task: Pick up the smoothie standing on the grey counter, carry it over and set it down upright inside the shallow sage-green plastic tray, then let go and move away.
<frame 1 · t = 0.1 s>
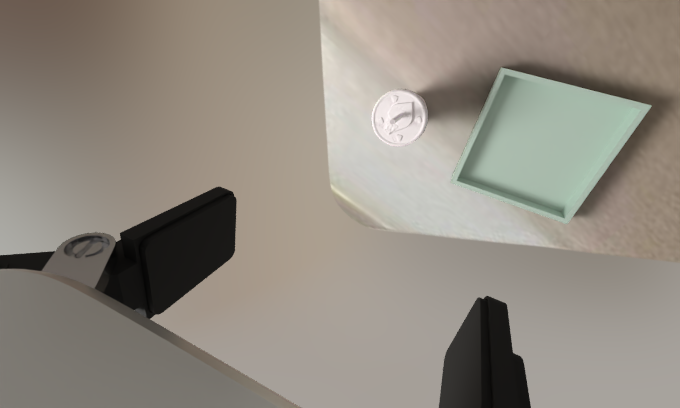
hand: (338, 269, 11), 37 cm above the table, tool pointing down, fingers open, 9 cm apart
tray: (533, 145, 39), on the table
smoothie: (413, 108, 43), on the table
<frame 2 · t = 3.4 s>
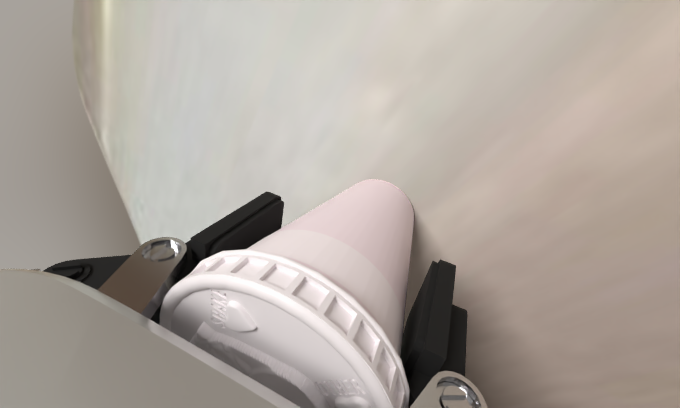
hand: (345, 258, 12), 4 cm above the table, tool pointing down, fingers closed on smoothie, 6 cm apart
smoothie: (377, 212, 15), on the table, touching gripper
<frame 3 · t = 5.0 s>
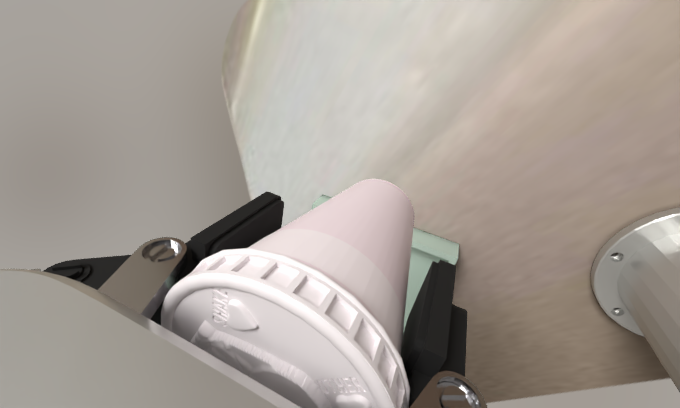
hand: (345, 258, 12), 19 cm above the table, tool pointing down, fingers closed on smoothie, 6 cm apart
tray: (370, 271, 36), on the table
smoothie: (377, 212, 15), point 15 cm above the table, touching gripper
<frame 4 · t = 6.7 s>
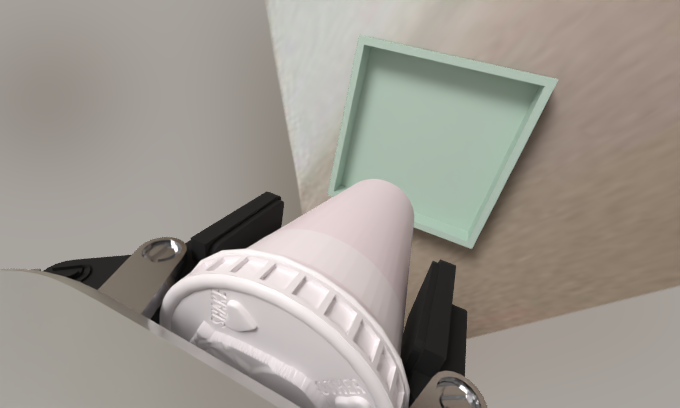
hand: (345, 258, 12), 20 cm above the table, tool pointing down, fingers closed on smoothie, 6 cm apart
tray: (423, 142, 29), on the table
smoothie: (377, 212, 15), point 16 cm above the table, touching gripper
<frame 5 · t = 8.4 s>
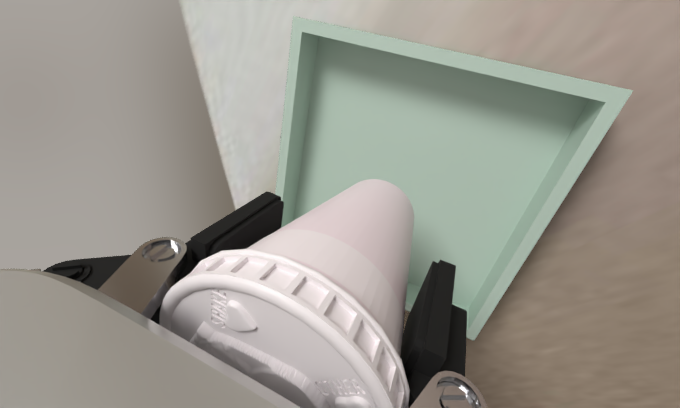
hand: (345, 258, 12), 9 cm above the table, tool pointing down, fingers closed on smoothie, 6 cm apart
tray: (402, 179, 19), on the table
smoothie: (377, 212, 15), point 5 cm above the table, touching gripper
when the fingers open (6 cm above the table, at t = 10.1 s): smoothie stays where it is, resting on tray.
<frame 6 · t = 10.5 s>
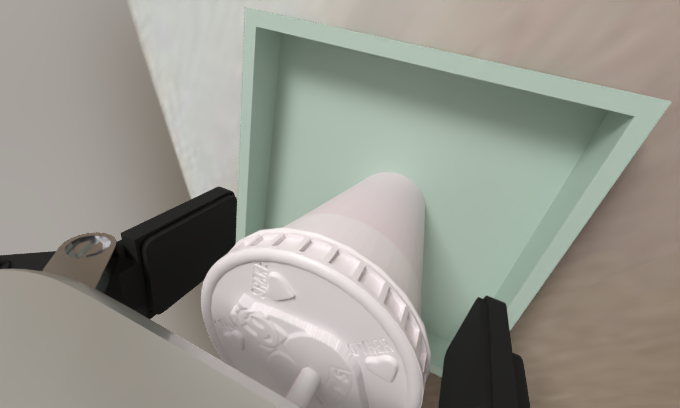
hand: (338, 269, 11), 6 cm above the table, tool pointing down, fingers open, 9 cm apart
tray: (384, 201, 17), on the table
smoothie: (389, 204, 16), resting on tray
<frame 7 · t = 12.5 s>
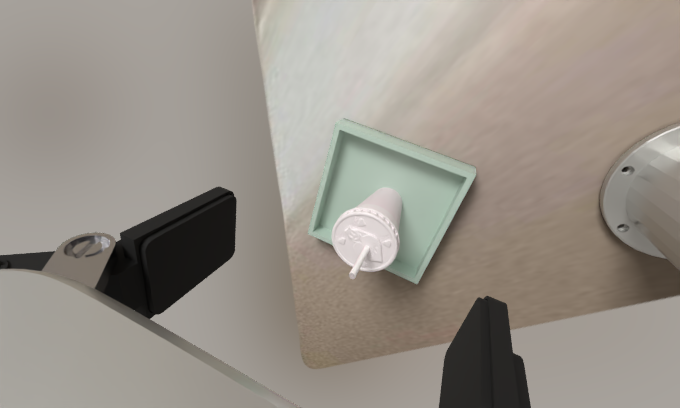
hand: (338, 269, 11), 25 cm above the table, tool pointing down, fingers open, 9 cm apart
tray: (384, 199, 37), on the table
smoothie: (387, 201, 36), resting on tray
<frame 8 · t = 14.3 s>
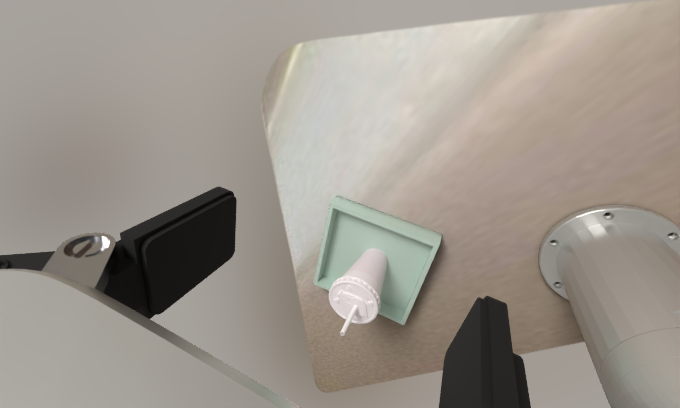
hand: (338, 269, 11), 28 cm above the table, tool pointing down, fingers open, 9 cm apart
tray: (373, 256, 45), on the table
smoothie: (375, 258, 44), resting on tray
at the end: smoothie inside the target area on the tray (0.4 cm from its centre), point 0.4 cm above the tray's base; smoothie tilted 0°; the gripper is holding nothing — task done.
